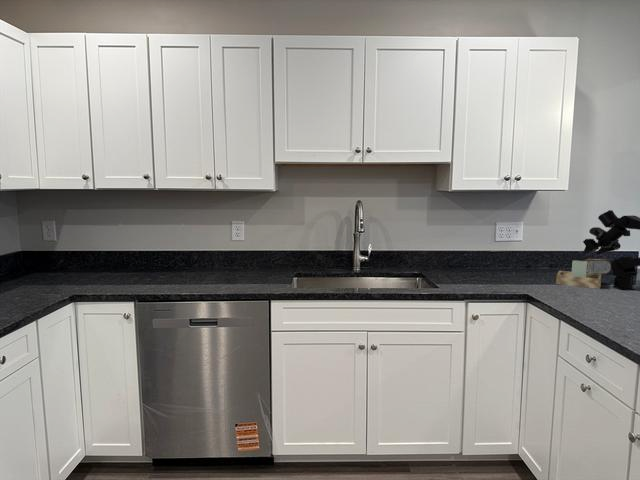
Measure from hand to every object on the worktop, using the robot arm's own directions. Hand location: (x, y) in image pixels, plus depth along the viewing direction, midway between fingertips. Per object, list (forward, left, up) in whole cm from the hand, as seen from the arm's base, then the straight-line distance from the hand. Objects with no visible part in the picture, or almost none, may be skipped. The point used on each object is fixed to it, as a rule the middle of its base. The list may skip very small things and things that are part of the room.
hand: (589, 254), depth 209 cm
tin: (-16, -18, -14) cm, 28 cm away
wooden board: (+9, +7, -14) cm, 18 cm away
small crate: (+9, +7, -13) cm, 17 cm away
